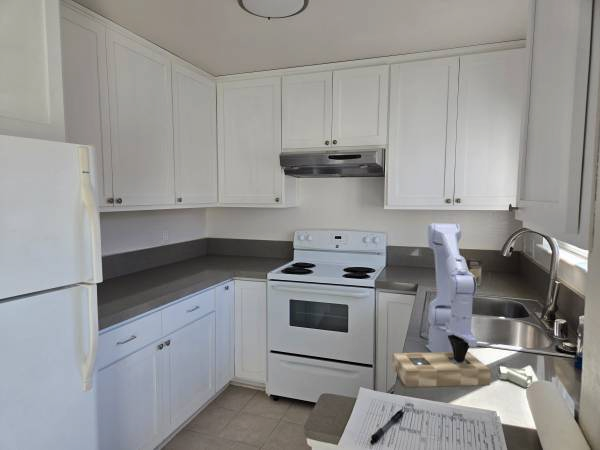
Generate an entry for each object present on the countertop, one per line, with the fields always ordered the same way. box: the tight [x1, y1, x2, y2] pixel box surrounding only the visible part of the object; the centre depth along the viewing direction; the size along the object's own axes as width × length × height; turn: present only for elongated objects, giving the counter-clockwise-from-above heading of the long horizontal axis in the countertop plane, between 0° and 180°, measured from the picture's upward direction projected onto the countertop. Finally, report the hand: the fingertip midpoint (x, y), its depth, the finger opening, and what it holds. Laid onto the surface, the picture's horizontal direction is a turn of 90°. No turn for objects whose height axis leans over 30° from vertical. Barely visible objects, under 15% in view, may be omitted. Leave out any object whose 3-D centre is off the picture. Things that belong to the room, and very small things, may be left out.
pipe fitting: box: [497, 365, 533, 389], centre depth 105 cm, size 8×4×7 cm
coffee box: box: [465, 258, 483, 285], centre depth 227 cm, size 9×6×16 cm
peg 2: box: [451, 358, 467, 364], centre depth 109 cm, size 4×4×4 cm
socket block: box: [391, 351, 492, 388], centre depth 109 cm, size 12×24×4 cm, turn 94°
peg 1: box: [412, 358, 427, 365], centre depth 108 cm, size 4×4×4 cm
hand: (459, 361), depth 109 cm, fingers closed, pressing on peg 2
